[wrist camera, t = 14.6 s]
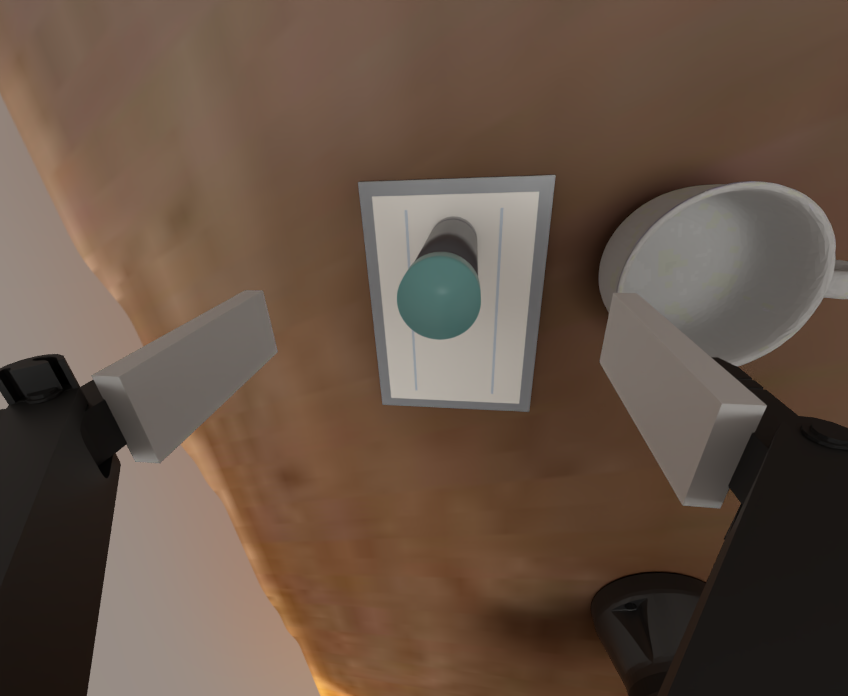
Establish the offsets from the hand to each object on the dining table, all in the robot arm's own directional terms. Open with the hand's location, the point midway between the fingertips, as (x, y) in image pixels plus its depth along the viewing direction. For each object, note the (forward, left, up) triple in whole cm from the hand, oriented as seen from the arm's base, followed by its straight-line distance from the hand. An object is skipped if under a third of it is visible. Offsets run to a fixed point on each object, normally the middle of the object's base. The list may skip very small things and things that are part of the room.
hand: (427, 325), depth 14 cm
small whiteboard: (-6, 0, -17) cm, 18 cm away
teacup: (-2, -17, -17) cm, 24 cm away
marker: (0, 0, -16) cm, 16 cm away
